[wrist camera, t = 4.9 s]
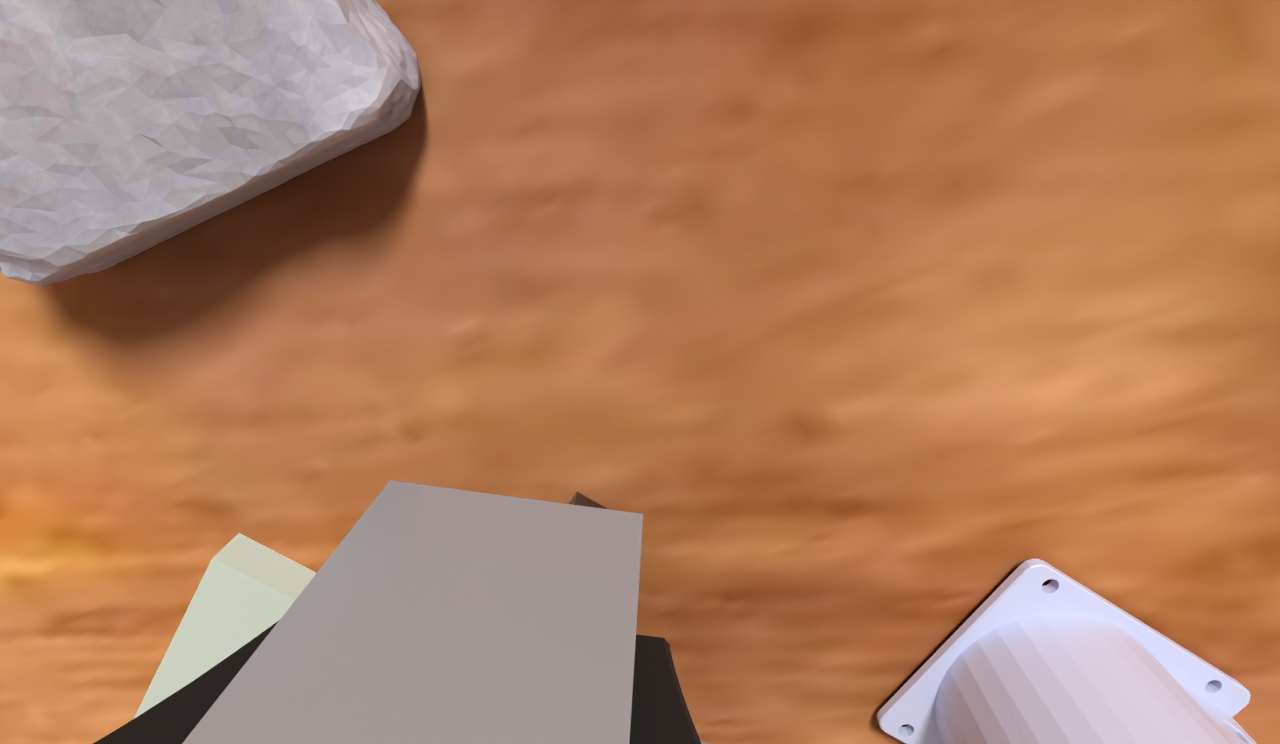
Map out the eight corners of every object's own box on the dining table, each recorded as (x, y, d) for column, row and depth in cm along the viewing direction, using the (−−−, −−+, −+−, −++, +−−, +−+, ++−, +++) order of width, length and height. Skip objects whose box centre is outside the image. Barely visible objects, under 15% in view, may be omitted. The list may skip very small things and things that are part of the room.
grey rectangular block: (642, 513, 12) (625, 802, 7) (613, 711, 14) (581, 1074, 8) (390, 480, 12) (180, 745, 7) (387, 682, 14) (212, 1028, 8)
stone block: (-59, -19, 20) (107, 307, 21) (-299, -113, 15) (-70, 316, 16) (299, -230, 18) (462, 132, 19) (159, -409, 13) (384, 84, 14)
